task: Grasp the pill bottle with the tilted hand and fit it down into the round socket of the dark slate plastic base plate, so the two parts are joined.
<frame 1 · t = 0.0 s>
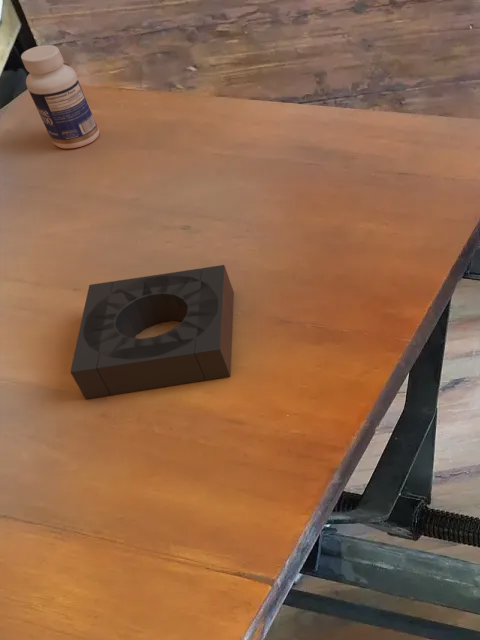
pill bottle: (77, 140, 104), on the table
socket plate: (163, 342, 78), on the table
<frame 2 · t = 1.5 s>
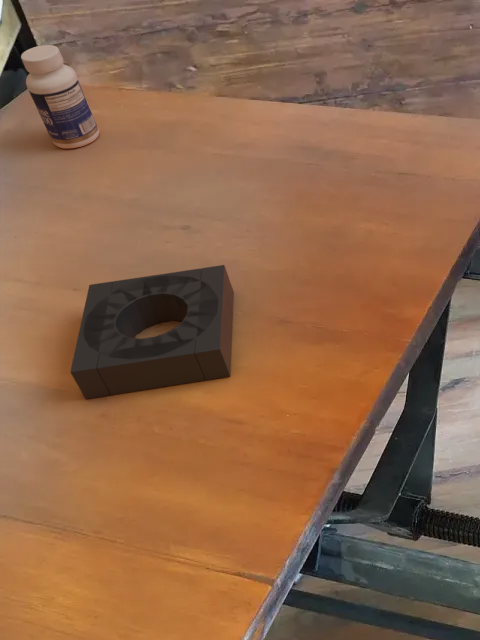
nothing on the table moved.
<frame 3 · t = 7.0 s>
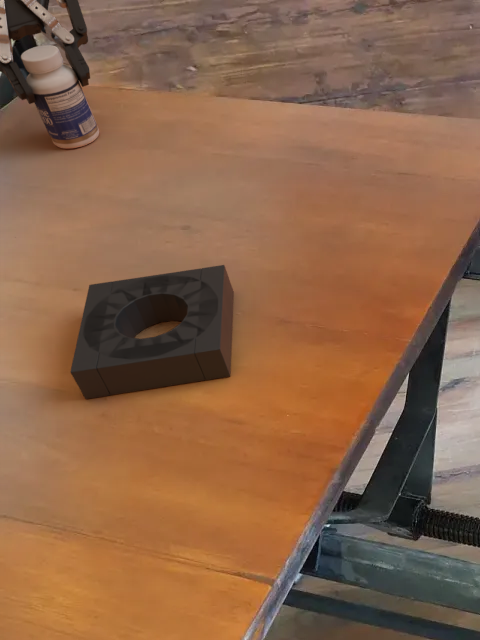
hand: (58, 90, 98), 6 cm above the table, tool tilted 45°, fingers closed on pill bottle, 5 cm apart
pill bottle: (77, 140, 104), on the table, touching gripper
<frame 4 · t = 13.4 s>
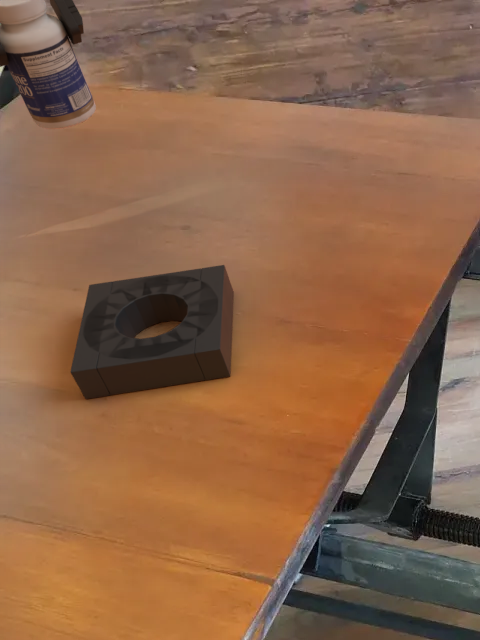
hand: (40, 48, 72), 20 cm above the table, tool tilted 45°, fingers closed on pill bottle, 5 cm apart
pill bottle: (67, 118, 77), point 14 cm above the table, touching gripper
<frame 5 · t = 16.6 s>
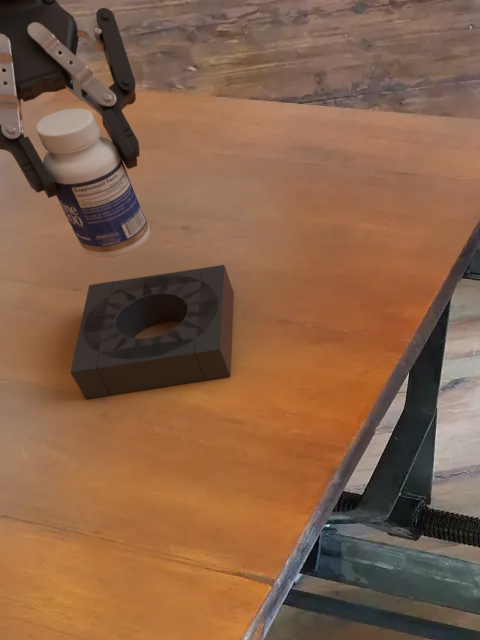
hand: (93, 177, 64), 16 cm above the table, tool tilted 45°, fingers closed on pill bottle, 5 cm apart
pill bottle: (118, 242, 70), point 10 cm above the table, touching gripper
when the fingers open (6 cm above the table, at t = 19.9 s): pill bottle stays where it is, resting in socket plate.
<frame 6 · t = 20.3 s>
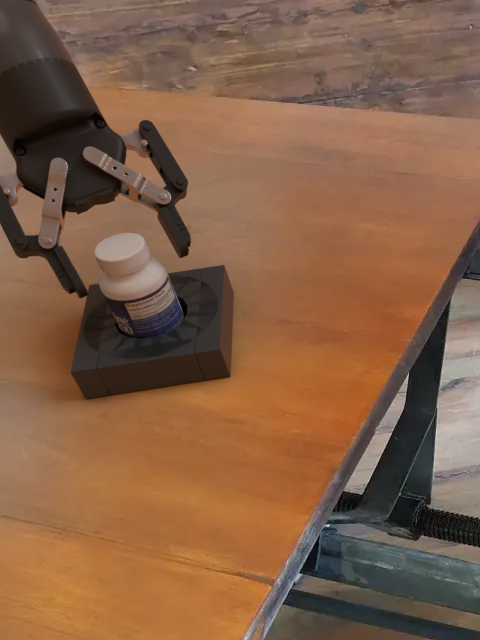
hand: (135, 274, 71), 8 cm above the table, tool tilted 45°, fingers open, 8 cm apart
pill bottle: (162, 343, 78), resting in socket plate
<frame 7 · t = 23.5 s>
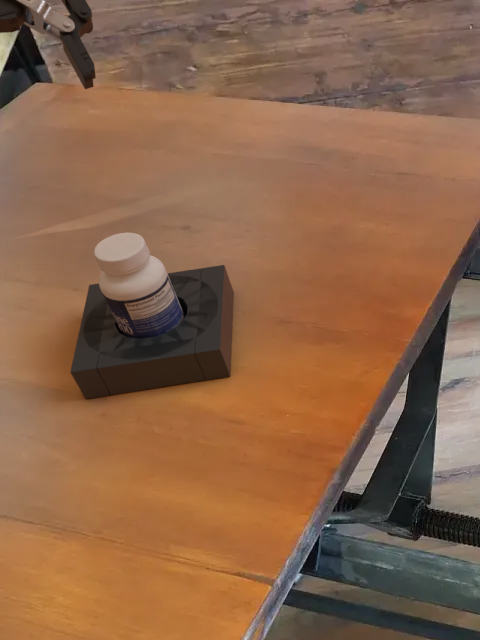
hand: (39, 99, 74), 16 cm above the table, tool tilted 45°, fingers open, 8 cm apart
nothing on the table moved.
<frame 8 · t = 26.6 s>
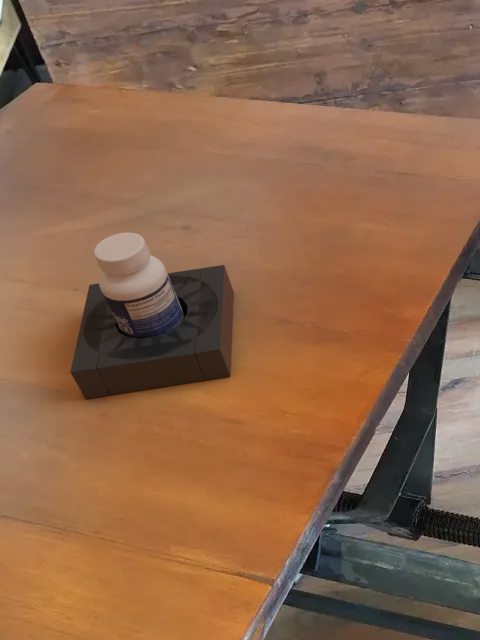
nothing on the table moved.
at the end: pill bottle 0.3 cm off-centre in the socket plate, point 0.0 cm above the socket plate's base; pill bottle tilted 0°; the gripper is holding nothing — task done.
